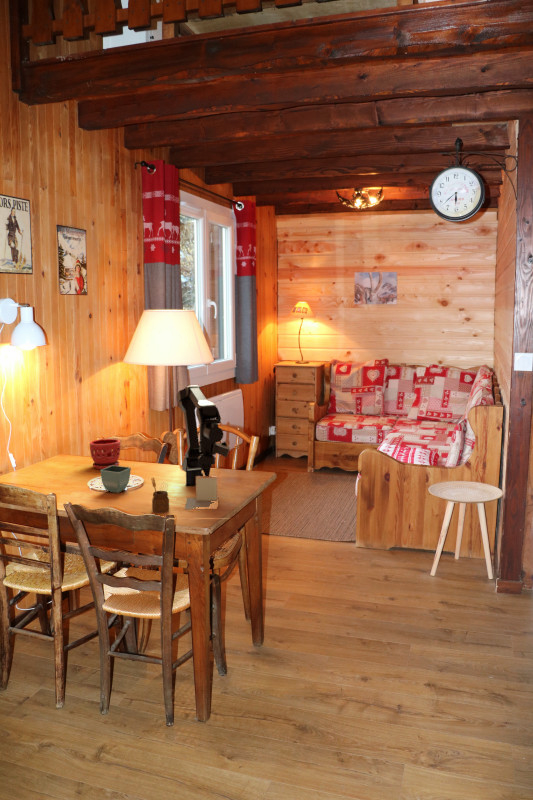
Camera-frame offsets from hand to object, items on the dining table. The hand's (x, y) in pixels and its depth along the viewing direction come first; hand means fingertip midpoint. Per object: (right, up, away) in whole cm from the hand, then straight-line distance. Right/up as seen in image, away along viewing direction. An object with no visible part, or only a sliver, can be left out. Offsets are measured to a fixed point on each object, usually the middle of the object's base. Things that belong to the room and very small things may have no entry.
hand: (207, 477), depth 255 cm
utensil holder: (-15, -10, -17) cm, 25 cm away
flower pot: (-36, -6, +7) cm, 38 cm away
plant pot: (-49, -1, +43) cm, 66 cm away
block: (0, -8, -5) cm, 9 cm away
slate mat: (-1, -9, -9) cm, 13 cm away
